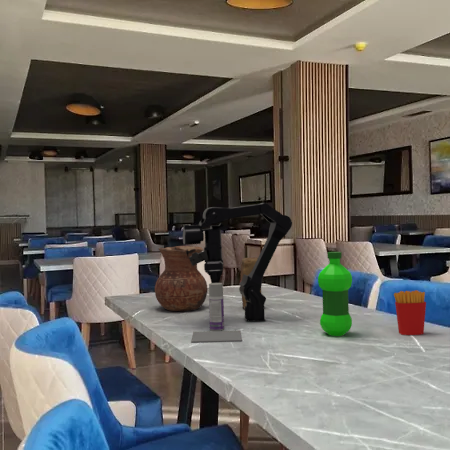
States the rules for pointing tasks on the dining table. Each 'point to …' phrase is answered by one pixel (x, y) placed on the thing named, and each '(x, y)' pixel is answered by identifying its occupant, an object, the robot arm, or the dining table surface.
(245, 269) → the block
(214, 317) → the container
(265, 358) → the dining table surface
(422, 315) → the french fries
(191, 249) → the jug
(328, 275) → the plastic bottle
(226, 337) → the mat
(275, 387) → the dining table surface
